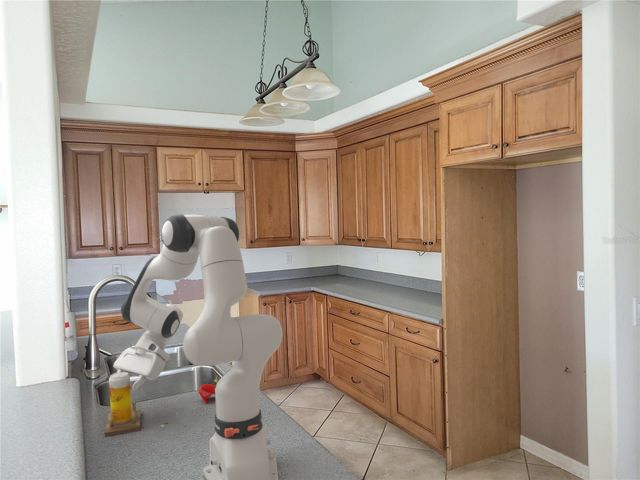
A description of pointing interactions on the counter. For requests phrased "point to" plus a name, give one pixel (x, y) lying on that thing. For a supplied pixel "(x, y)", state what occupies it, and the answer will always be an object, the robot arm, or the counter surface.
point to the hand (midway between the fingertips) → (123, 386)
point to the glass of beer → (120, 397)
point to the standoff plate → (126, 427)
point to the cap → (206, 391)
